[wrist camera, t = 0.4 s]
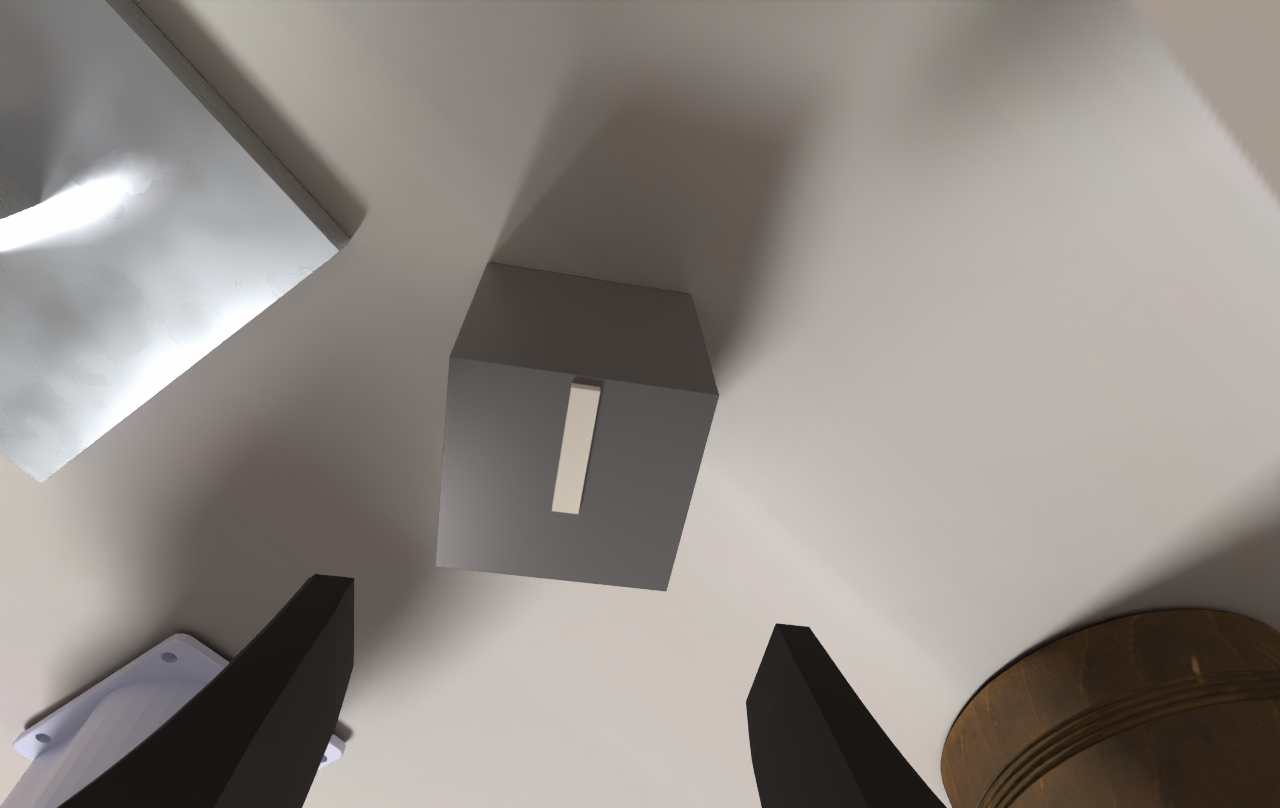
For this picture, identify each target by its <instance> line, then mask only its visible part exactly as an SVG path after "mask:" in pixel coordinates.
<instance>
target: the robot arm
mask: <svg viewBox="0 0 1280 808" xmlns="http://www.w3.org/2000/svg"><path fill="white" fill-rule="evenodd" d="M353 662H354V578H347V577H338V576H328V575H319V574H315V575H314V576H312V577H310V578H309V579H308V580H307V581H306V582H305V583H304V585H303V586H302V587H301V588H300V589H299V590H298V591H297V593H296V594H295V595H294V596H293V597H292V598H291V599H290V600H289V602H288V603H287V604H286V605H285V606H284V607H283V608H282V609H281V610H280V612H279V613H278V614H277V615H276V616H275V617H274V618H273V619H272V620H271V621H270V622H269V623H268V624H267V625H266V626H265V628H264V629H263V630H262V631H261V632H260V633H259V634H258V635H257V636H256V637H255V638H254V639H253V640H252V641H251V642H250V643H249V644H248V645H247V646H246V647H245V648H244V649H243V650H242V651H241V652H240V653H239V654H238V655H237V656H236V657H235V658H234V659H233V660H232V661H231V662H228V661H227V660H225V659H224V658H223V657H221V656H220V655H218V654H217V653H215V652H214V651H212V650H211V649H210V648H208V647H207V646H205V645H204V644H202V643H201V642H199V641H198V640H197V639H195V638H194V637H192V636H190V635H187V634H175V635H172V636H170V637H169V638H167V639H166V640H164V641H163V642H161V643H160V644H158V645H157V646H155V647H153V648H152V649H150V650H149V651H147V652H146V653H144V654H143V655H141V656H140V657H138V658H136V659H135V660H133V661H132V662H130V663H129V664H127V665H126V666H124V667H123V668H121V669H120V670H118V671H116V672H115V673H113V674H112V675H110V676H109V677H107V678H106V679H104V680H103V681H101V682H100V683H98V684H96V685H95V686H93V687H92V688H90V689H89V690H87V691H86V692H84V693H83V694H81V695H80V696H78V697H76V698H75V699H73V700H72V701H70V702H69V703H67V704H66V705H64V706H63V707H61V708H60V709H58V710H56V711H55V712H53V713H52V714H50V715H49V716H47V717H46V718H44V719H43V720H41V721H39V722H38V723H36V724H35V725H33V726H32V727H30V728H29V729H27V730H26V731H24V732H23V733H21V734H20V735H19V736H18V737H17V739H16V740H15V741H14V743H13V748H14V749H15V751H16V752H18V753H19V754H21V755H23V756H24V757H26V758H28V759H30V760H32V761H33V762H32V764H31V765H30V766H29V768H28V769H27V770H26V772H25V773H24V775H23V776H22V777H21V779H20V780H19V781H18V783H17V784H16V786H15V787H14V788H13V790H12V791H11V792H10V794H9V795H8V797H7V798H6V799H5V801H4V802H3V803H2V805H1V806H0V808H302V806H303V804H304V802H305V799H306V797H307V794H308V792H309V790H310V787H311V785H312V782H313V780H314V778H315V775H316V773H317V771H318V770H320V769H321V768H323V767H325V766H327V765H329V764H331V763H332V762H334V761H336V760H338V759H340V758H341V757H342V756H343V753H344V750H345V747H346V746H345V743H344V742H343V741H342V740H341V739H340V738H338V737H337V736H335V735H334V734H333V732H334V729H335V727H336V723H337V720H338V717H339V713H340V710H341V707H342V704H343V700H344V697H345V693H346V690H347V686H348V683H349V679H350V676H351V672H352V669H353ZM746 707H747V718H748V729H749V739H750V748H751V757H752V763H753V768H754V773H755V778H756V782H757V787H758V792H759V796H760V801H761V806H762V808H947V807H946V806H945V805H944V804H943V803H942V802H941V801H940V800H939V798H938V797H937V796H936V795H935V794H934V793H933V792H932V790H931V789H930V788H929V787H928V786H927V784H926V783H925V782H924V781H923V780H922V778H921V777H920V776H919V775H918V774H917V772H916V771H915V770H914V769H913V768H912V766H911V765H910V764H909V763H908V762H907V760H906V759H905V758H904V757H903V755H902V754H901V753H900V752H899V750H898V749H897V748H896V747H895V745H894V744H893V743H892V741H891V740H890V739H889V738H888V736H887V735H886V734H885V732H884V731H883V730H882V728H881V727H880V726H879V724H878V723H877V722H876V720H875V719H874V718H873V716H872V715H871V714H870V712H869V711H868V710H867V708H866V707H865V705H864V704H863V703H862V701H861V700H860V699H859V697H858V696H857V694H856V693H855V692H854V690H853V689H852V687H851V686H850V685H849V683H848V682H847V680H846V679H845V677H844V676H843V675H842V673H841V672H840V670H839V669H838V668H837V666H836V665H835V663H834V662H833V660H832V659H831V658H830V656H829V655H828V653H827V652H826V650H825V649H824V648H823V646H822V645H821V643H820V642H819V640H818V639H817V638H816V636H815V635H814V633H813V632H812V631H811V629H810V628H809V627H804V626H795V625H786V624H776V625H775V627H774V630H773V632H772V635H771V638H770V640H769V643H768V646H767V648H766V651H765V653H764V656H763V659H762V661H761V664H760V666H759V669H758V672H757V674H756V677H755V680H754V682H753V685H752V687H751V690H750V693H749V695H748V698H747V700H746Z"/></svg>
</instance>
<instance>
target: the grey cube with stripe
mask: <svg viewBox="0 0 1280 808" xmlns="http://www.w3.org/2000/svg"><path fill="white" fill-rule="evenodd" d="M718 397H719V393H718V390H717V386H716V383H715V379H714V376H713V372H712V369H711V365H710V362H709V358H708V354H707V351H706V347H705V344H704V340H703V337H702V333H701V330H700V326H699V323H698V319H697V315H696V312H695V308H694V305H693V301H692V298H691V295H690V294H684V293H677V292H671V291H665V290H659V289H652V288H646V287H640V286H634V285H627V284H621V283H615V282H609V281H602V280H596V279H590V278H584V277H577V276H571V275H565V274H558V273H552V272H546V271H540V270H533V269H527V268H521V267H515V266H508V265H502V264H496V263H490V262H488V263H487V266H486V268H485V271H484V273H483V276H482V278H481V281H480V283H479V285H478V288H477V290H476V293H475V295H474V298H473V300H472V303H471V305H470V308H469V310H468V313H467V315H466V318H465V320H464V323H463V325H462V328H461V330H460V333H459V335H458V338H457V340H456V343H455V345H454V347H453V350H452V352H451V355H450V360H449V375H448V390H447V404H446V419H445V434H444V449H443V464H442V479H441V494H440V509H439V523H438V538H437V553H436V567H444V568H453V569H463V570H472V571H481V572H491V573H500V574H509V575H519V576H528V577H537V578H547V579H556V580H565V581H575V582H584V583H593V584H603V585H612V586H621V587H631V588H640V589H649V590H659V591H666V590H667V587H668V583H669V579H670V576H671V572H672V568H673V564H674V561H675V557H676V553H677V550H678V546H679V542H680V538H681V535H682V531H683V527H684V524H685V520H686V516H687V512H688V509H689V505H690V501H691V498H692V494H693V490H694V486H695V483H696V479H697V475H698V472H699V468H700V464H701V460H702V457H703V453H704V449H705V446H706V442H707V438H708V434H709V431H710V427H711V423H712V420H713V416H714V412H715V408H716V405H717V401H718Z"/></svg>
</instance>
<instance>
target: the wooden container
mask: <svg viewBox="0 0 1280 808" xmlns="http://www.w3.org/2000/svg"><path fill="white" fill-rule="evenodd" d="M941 775H942V781H943V785H944V788H945V791H946V793H947V796H948V798H949V801H950V803H951V806H952V808H1280V633H1278V632H1277V631H1275V630H1274V629H1272V628H1271V627H1269V626H1267V625H1266V624H1264V623H1261V622H1258V621H1256V620H1254V619H1251V618H1247V617H1244V616H1241V615H1237V614H1231V613H1226V612H1220V611H1210V610H1171V611H1159V612H1150V613H1143V614H1137V615H1132V616H1128V617H1124V618H1119V619H1115V620H1112V621H1108V622H1105V623H1101V624H1098V625H1095V626H1092V627H1089V628H1086V629H1084V630H1081V631H1079V632H1077V633H1074V634H1071V635H1068V636H1066V637H1064V638H1061V639H1059V640H1057V641H1055V642H1053V643H1051V644H1049V645H1047V646H1045V647H1043V648H1041V649H1039V650H1037V651H1035V652H1033V653H1032V654H1030V655H1028V656H1027V657H1025V658H1023V659H1022V660H1020V661H1019V662H1017V663H1016V664H1014V665H1013V666H1011V667H1010V668H1008V669H1007V670H1006V671H1004V672H1003V673H1002V674H1000V675H999V676H998V677H996V678H995V679H994V680H992V681H991V682H990V683H989V684H987V685H986V686H985V687H984V688H983V689H982V690H981V691H980V692H979V693H978V694H977V695H976V696H975V697H974V698H973V699H972V701H971V702H970V703H969V704H968V706H967V707H966V708H965V709H964V711H963V712H962V714H961V715H960V716H959V718H958V720H957V721H956V723H955V724H954V726H953V728H952V730H951V732H950V733H949V736H948V738H947V740H946V742H945V745H944V748H943V752H942V758H941Z"/></svg>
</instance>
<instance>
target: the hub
mask: <svg viewBox="0 0 1280 808" xmlns="http://www.w3.org/2000/svg"><path fill="white" fill-rule="evenodd" d="M350 240H351V239H350V238H349V237H348V236H347V234H346V233H345V232H344V231H343V230H342V229H341V228H340V227H339V226H338V225H337V224H336V222H335V221H334V220H333V219H332V218H331V217H330V216H329V215H328V214H327V213H326V212H325V210H324V209H323V208H322V207H321V206H320V205H319V204H318V203H317V202H316V201H315V200H314V198H313V197H312V196H311V195H310V194H309V193H308V192H307V191H306V190H305V189H304V188H303V186H302V185H301V184H300V183H299V182H298V181H297V180H296V179H295V178H294V177H293V176H292V174H291V173H290V172H289V171H288V170H287V169H286V168H285V167H284V166H283V165H282V164H281V162H280V161H279V160H278V159H277V158H276V157H275V156H274V155H273V154H272V153H271V152H270V150H269V149H268V148H267V147H266V146H265V145H264V144H263V143H262V142H261V141H260V140H259V138H258V137H257V136H256V135H255V134H254V133H253V132H252V131H251V130H250V129H249V128H248V126H247V125H246V124H245V123H244V122H243V121H242V120H241V119H240V118H239V117H238V116H237V114H236V113H235V112H234V111H233V110H232V109H231V108H230V107H229V106H228V105H227V104H226V102H225V101H224V100H223V99H222V98H221V97H220V96H219V95H218V94H217V93H216V92H215V90H214V89H213V88H212V87H211V86H210V85H209V84H208V83H207V82H206V81H205V80H204V78H203V77H202V76H201V75H200V74H199V73H198V72H197V71H196V70H195V69H194V68H193V66H192V65H191V64H190V63H189V62H188V61H187V60H186V59H185V58H184V57H183V56H182V54H181V53H180V52H179V51H178V50H177V49H176V48H175V47H174V46H173V45H172V44H171V42H170V41H169V40H168V39H167V38H166V37H165V36H164V35H163V34H162V33H161V32H160V30H159V29H158V28H157V27H156V26H155V25H154V24H153V23H152V22H151V21H150V20H149V18H148V17H147V16H146V15H145V14H144V13H143V12H142V11H141V10H140V9H139V8H138V6H137V5H136V4H135V3H134V2H133V1H132V0H0V454H2V455H3V456H4V457H6V458H7V459H9V460H10V461H11V462H13V463H14V464H15V465H17V466H18V467H20V468H21V469H22V470H24V471H25V472H26V473H28V474H29V475H31V476H32V477H33V478H35V479H36V480H38V481H39V482H40V483H42V482H43V481H44V480H46V479H47V478H48V477H49V476H51V475H52V474H53V473H55V472H56V471H57V470H58V469H60V468H61V467H62V466H64V465H65V464H66V463H67V462H69V461H70V460H71V459H73V458H74V457H75V456H77V455H78V454H79V453H80V452H82V451H83V450H84V449H86V448H87V447H88V446H89V445H91V444H92V443H93V442H95V441H96V440H97V439H98V438H100V437H101V436H102V435H104V434H105V433H106V432H107V431H109V430H110V429H111V428H113V427H114V426H115V425H116V424H118V423H119V422H120V421H122V420H123V419H124V418H125V417H127V416H128V415H129V414H131V413H132V412H133V411H134V410H136V409H137V408H138V407H140V406H141V405H142V404H144V403H145V402H146V401H147V400H149V399H150V398H151V397H153V396H154V395H155V394H156V393H158V392H159V391H160V390H162V389H163V388H164V387H165V386H167V385H168V384H169V383H171V382H172V381H173V380H174V379H176V378H177V377H178V376H180V375H181V374H182V373H183V372H185V371H186V370H187V369H189V368H190V367H191V366H192V365H194V364H195V363H196V362H198V361H199V360H200V359H202V358H203V357H204V356H205V355H207V354H208V353H209V352H211V351H212V350H213V349H214V348H216V347H217V346H218V345H220V344H221V343H222V342H223V341H225V340H226V339H227V338H229V337H230V336H231V335H232V334H234V333H235V332H236V331H238V330H239V329H240V328H241V327H243V326H244V325H245V324H247V323H248V322H249V321H250V320H252V319H253V318H254V317H256V316H257V315H258V314H259V313H261V312H262V311H263V310H265V309H266V308H267V307H269V306H270V305H271V304H272V303H274V302H275V301H276V300H278V299H279V298H280V297H281V296H283V295H284V294H285V293H287V292H288V291H289V290H290V289H292V288H293V287H294V286H296V285H297V284H298V283H299V282H301V281H302V280H303V279H305V278H306V277H307V276H308V275H310V274H311V273H312V272H314V271H315V270H316V269H317V268H319V267H320V266H321V265H323V264H324V263H325V262H326V261H328V260H329V259H330V258H332V257H333V256H334V255H336V254H337V253H338V252H339V251H340V250H341V249H342V248H343V247H344V246H345V245H346V244H347V243H348V242H349V241H350Z"/></svg>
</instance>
